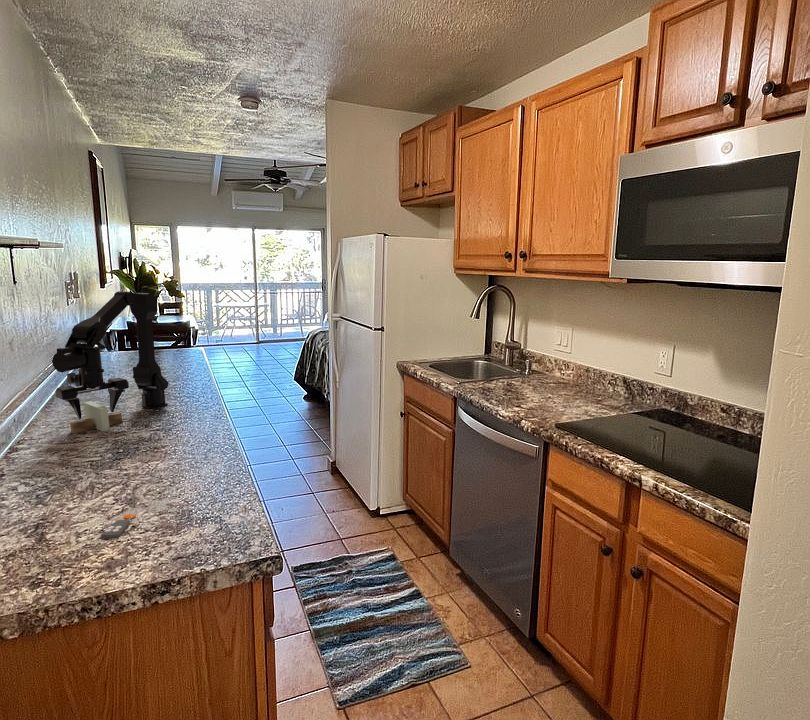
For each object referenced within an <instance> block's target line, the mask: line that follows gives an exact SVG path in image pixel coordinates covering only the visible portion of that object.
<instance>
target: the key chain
mask: <svg viewBox="0 0 810 720" xmlns="http://www.w3.org/2000/svg"><path fill="white" fill-rule="evenodd" d="M140 512H141V511H139V510H138V511H135V512H133V513H128V514H125V515H123V519H118V520H115V521H114V522H113V523H112V524H111V525H110V526H108V527H107V528H106V529H105V530H104V531H103V532H102V533H101V534H100V538H101V539H117V538H120V537H121V536H122V535H123V533H125V531H126V530H127V528H128V527H129V526H130V520H131V519H135V518H137V514H139V513H140Z"/></svg>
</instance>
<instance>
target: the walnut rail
mask: <svg viewBox="0 0 810 720" xmlns="http://www.w3.org/2000/svg"><path fill="white" fill-rule="evenodd" d="M108 419H109V426H112V425H116V424H121V423H123V415H122V412H119V411H117V412H111V413H108ZM69 425H70V433H73V434H76V433H77V434H78V433H81V432H85V431H90V430H94V429H96V425H94V424H93V419H91V418H88V419H85V418H84V419H78V420H75V421H70V422H69Z"/></svg>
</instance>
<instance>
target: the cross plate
mask: <svg viewBox="0 0 810 720" xmlns="http://www.w3.org/2000/svg"><path fill="white" fill-rule="evenodd" d="M83 408H84V409H83V410H84V419H88V418H91V419H93V424H94V425H96V428H95V429H96V430H99V431H100V432H102V433H103V432H108V431H110V425H109V419H108V414H109V412H108V407H106V406H103V405H102V404H98V403H96V402H94V401H83Z"/></svg>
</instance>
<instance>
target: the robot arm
mask: <svg viewBox="0 0 810 720" xmlns="http://www.w3.org/2000/svg"><path fill="white" fill-rule="evenodd" d="M128 306H129V309H130V312H131V314H132V315H133V317H134V318H135V320H136V336H137V352H138V362H137V364H136V366H132V375H133V376H132V379H134V384H136V386H137V389H138V390H142V391H141V392H142V393H141V407H145V408H146V409H155V408H159V407H163V406H168V405H169V404H168V402H166V397H165V396H166V395H165V390H166V389H168V388H169V384H170V383H169V381H168V380H167V379H166V378H165V377H164V376H163V374H162V370H161V367H160V365H159V364H158V363H157V361H156V358H155V357H156V355H155V354H156V353H155V341H154V338H155V337H154V323H153V321H154V320H153V319H154V317H155V315H156V314H157V311H158V299H157V296H155V295H154V294H153V293H152V292H151V293H149V292H147V293H146V292H132V291H129V290H126V291H123V290H120V291H117V292H116V291H115V293H114V294H113V296H112V297H111V298H110V299H109V300H108V301H107V302H106V303H105V304H104V305H103V306H102V307H100V309H99V310H98V311H97V312H96V313H95V314H94V315H92V316H91V317H89V318H87V319H86V318H85V319H84V320H82V321H80V322H78V323H77V324H75V325H73V327H72V328H71V334H70V335H69V337H68V340H67V341H66V343H65V345H64V347H59V348H56V353H55V354H54V355H53V357H52V359H51V362H52V363H51V364H52V366H53V368H54V369H55V370H56V371H57V372H58V373H66V372H70V371H74V370H78V373H77V374H76V373H75V372H70V373H67V374H66V379H67V384H69V385H65V386H60V387H57V388H55V389H56V390H55V391H54V393H55V397H56V398H57V399H60V400H63V401H65V402H68V404H69V406H71V408H72V410H73V412H74V413H75V415H76V417H77V418H78V420H82V409H81V401H80V398H79V397H78V395H79V394H85V393H90V392H96V391H101V390H106V389H107V392H108V395H109V409H110V412H111V413H115V409H116V406H117V403H118V401H119V399H120V397H121V396H122V393H125V392H126V389H129V388H130V385H129V381H128V380H127V379H126V378H122V377H114V378H108V380H107V382H105V381H104V373H105V368H103V365H102V364H103V363H102V354H101V350H104V349H106V348H107V346H106V345H104V344H102V343H101V342H102V340H103V338H104V337H105V335H106V334H107V328H108V326H109V325H110V324H111V323H112V322H114V320H115V319H116V318H117V317H118V316H119V315H120V314H121V313H122V312H123V311H124V310H125V309H126V308H127V307H128ZM73 384H74V386H75V387H74V386H72V385H73Z"/></svg>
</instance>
